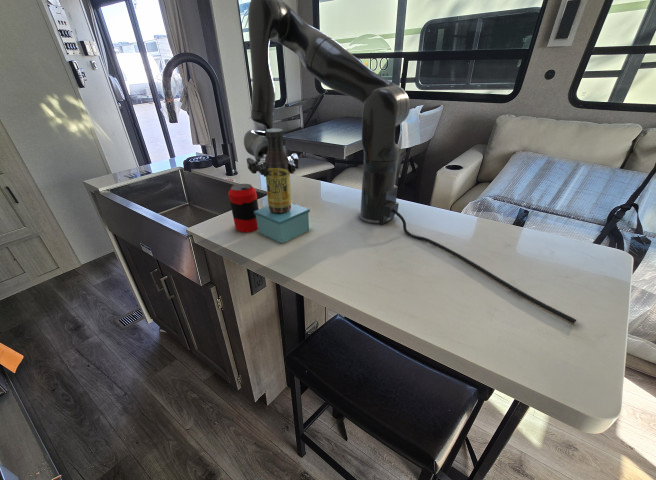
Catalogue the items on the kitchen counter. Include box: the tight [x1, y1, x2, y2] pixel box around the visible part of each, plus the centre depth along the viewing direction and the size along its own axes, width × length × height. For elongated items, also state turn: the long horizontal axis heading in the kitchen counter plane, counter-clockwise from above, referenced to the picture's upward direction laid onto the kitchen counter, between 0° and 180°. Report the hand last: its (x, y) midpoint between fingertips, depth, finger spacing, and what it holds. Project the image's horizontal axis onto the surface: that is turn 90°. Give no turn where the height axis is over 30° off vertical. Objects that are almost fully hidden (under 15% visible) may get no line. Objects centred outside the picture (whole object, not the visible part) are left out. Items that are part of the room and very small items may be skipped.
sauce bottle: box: [265, 127, 292, 213], centre depth 79 cm, size 7×6×20 cm
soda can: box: [228, 183, 260, 234], centre depth 89 cm, size 8×8×12 cm
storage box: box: [254, 202, 311, 244], centre depth 87 cm, size 11×11×6 cm
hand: (278, 170), depth 77 cm, fingers closed on sauce bottle, 6 cm apart
